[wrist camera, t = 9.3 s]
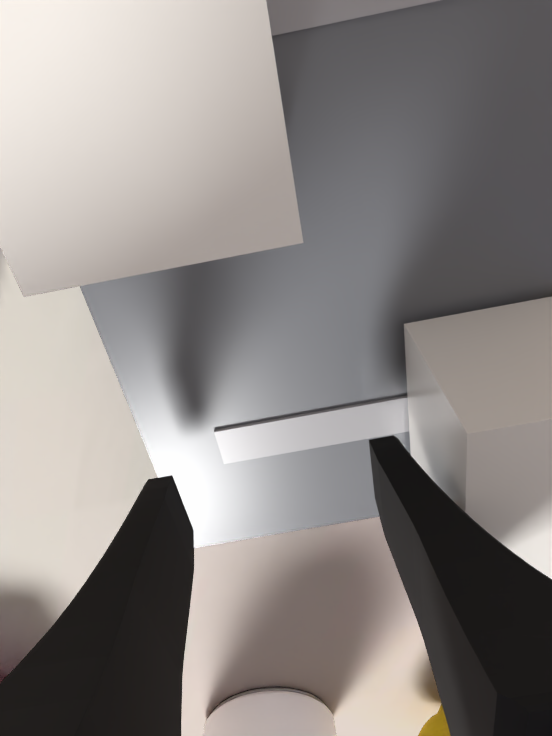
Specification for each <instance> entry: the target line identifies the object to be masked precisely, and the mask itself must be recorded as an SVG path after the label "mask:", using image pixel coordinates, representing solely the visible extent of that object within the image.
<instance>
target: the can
mask: <svg viewBox="0 0 552 736" xmlns="http://www.w3.org/2000/svg"><path fill="white" fill-rule="evenodd" d="M203 736H337V735H336V729H335V723H334V718H333V715H332V713H331V711H330V710H329V709H328V708H327V707H326V706H325V705H324V703H323V702H322V701H321V700H320V699H318V698H317V697H316V696H314V695H312V694H310V693H307V692H304V691H301V690H297V689H291V688H280V687H273V688H261V689H254V690H250V691H246V692H242V693H240V694H237V695H234V696H232V697H230V698H228V699H226V700H225V701H223V702H222V703H221V704H219V705H218V706H217V707H216V708H215V709H214V711H213V712H212V714H211V715H210V716H209V717H208V719H207V720H206V722H205V724H204V730H203Z"/></svg>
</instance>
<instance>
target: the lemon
mask: <svg viewBox="0 0 552 736" xmlns="http://www.w3.org/2000/svg"><path fill="white" fill-rule="evenodd" d="M418 736H451V735H450V732H449V728H448V724H447V721H446V717H445V713H444V710H443V706H442V704H441V706H440V709H439V711H438V713H437V714H436V715H434V716H432V717H431V718H430V719H429V720H428V721H427V722H426V723H425V725H424V726H423V728H422V729H421V731H420V733H419V735H418Z"/></svg>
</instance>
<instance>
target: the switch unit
mask: <svg viewBox="0 0 552 736" xmlns="http://www.w3.org/2000/svg"><path fill="white" fill-rule="evenodd" d="M266 2H267V9H268V15H269V22H270V28H271V35H272V41H273V48H274V54H275V61H276V67H277V74H278V80H279V87H280V93H281V100H282V106H283V113H284V119H285V126H286V132H287V139H288V145H289V152H290V158H291V165H292V171H293V178H294V184H295V191H296V198H297V204H298V211H299V217H300V224H301V230H302V237H303V243H300V244H295V245H290V246H285V247H280V248H274V249H269V250H264V251H259V252H254V253H249V254H243V255H238V256H233V257H228V258H223V259H218V260H212V261H207V262H202V263H197V264H192V265H186V266H181V267H176V268H171V269H166V270H161V271H155V272H150V273H145V274H140V275H135V276H130V277H124V278H119V279H114V280H109V281H104V282H99V283H93V284H88V285H83V286H80V288H81V290H82V293H83V295H84V298H85V300H86V303H87V305H88V308H89V310H90V312H91V315H92V317H93V320H94V322H95V325H96V327H97V330H98V332H99V334H100V337H101V339H102V342H103V344H104V347H105V349H106V352H107V354H108V356H109V359H110V361H111V364H112V366H113V369H114V371H115V374H116V376H117V378H118V381H119V383H120V386H121V388H122V391H123V393H124V396H125V398H126V400H127V403H128V405H129V408H130V410H131V413H132V415H133V418H134V420H135V422H136V425H137V427H138V430H139V432H140V435H141V437H142V440H143V442H144V444H145V447H146V449H147V452H148V454H149V457H150V459H151V462H152V464H153V466H154V469H155V471H156V474H157V476H158V478H159V477H165V476H170V475H172V476H173V478H174V481H175V483H176V486H177V489H178V491H179V494H180V496H181V499H182V502H183V504H184V507H185V509H186V512H187V514H188V517H189V520H190V522H191V525H192V527H193V530H194V548H198V547H204V546H210V545H216V544H222V543H227V542H233V541H239V540H245V539H251V538H257V537H262V536H268V535H274V534H280V533H286V532H292V531H298V530H303V529H309V528H315V527H321V526H327V525H333V524H338V523H344V522H350V521H356V520H362V519H368V518H374V517H379V512H378V508H377V504H376V500H375V494H374V485H373V476H372V466H371V457H370V448H369V440H370V439H376V438H381V437H387V436H392V435H394V436H395V437H397V438H398V439H399V440H400V442H401V443H402V444H403V446H404V447H405V448H406V450H407V451H408V452H409V453H410V433H409V414H408V395H407V376H406V357H405V337H404V324H406V323H411V322H417V321H422V320H427V319H433V318H438V317H444V316H449V315H454V314H460V313H465V312H471V311H476V310H481V309H487V308H492V307H497V306H503V305H508V304H514V303H519V302H524V301H530V300H535V299H541V298H546V297H551V296H552V0H266ZM410 455H411V453H410Z"/></svg>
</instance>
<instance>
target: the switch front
mask: <svg viewBox="0 0 552 736" xmlns="http://www.w3.org/2000/svg"><path fill="white" fill-rule="evenodd" d="M300 243H303V237H302V230H301V224H300V217H299V211H298V204H297V198H296V191H295V184H294V178H293V171H292V165H291V158H290V152H289V145H288V139H287V132H286V126H285V119H284V113H283V106H282V100H281V93H280V87H279V80H278V74H277V67H276V61H275V54H274V48H273V41H272V35H271V28H270V22H269V15H268V9H267V2H266V0H0V248H1V250H2V252H3V254H4V256H5V258H6V261H7V263H8V265H9V267H10V269H11V271H12V273H13V275H14V277H15V279H16V282H17V284H18V286H19V288H20V290H21V292H22V294H23V296H24V297H26V296H31V295H36V294H42V293H47V292H52V291H57V290H62V289H67V288H73V287H78V286H83V285H88V284H93V283H99V282H104V281H109V280H114V279H119V278H124V277H130V276H135V275H140V274H145V273H150V272H155V271H161V270H166V269H171V268H176V267H181V266H186V265H192V264H197V263H202V262H207V261H212V260H218V259H223V258H228V257H233V256H238V255H243V254H249V253H254V252H259V251H264V250H269V249H274V248H280V247H285V246H290V245H295V244H300Z"/></svg>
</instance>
